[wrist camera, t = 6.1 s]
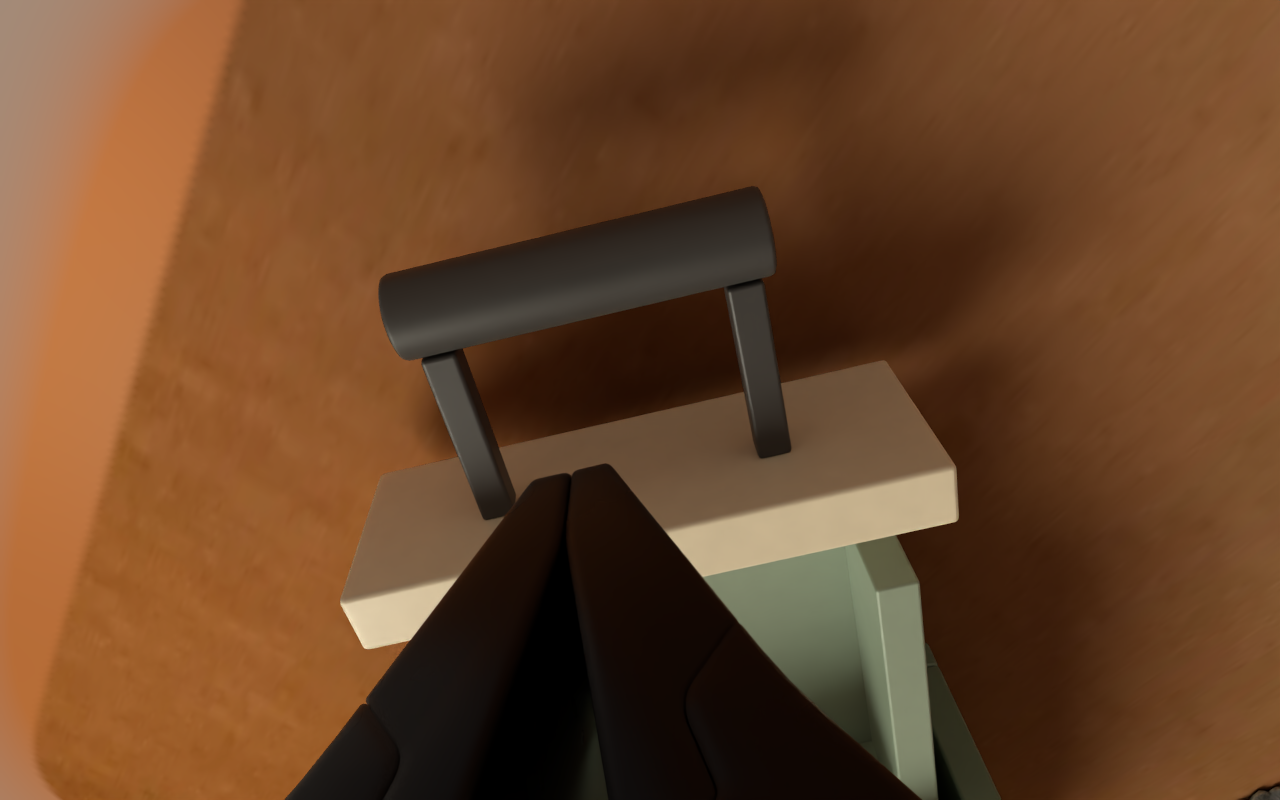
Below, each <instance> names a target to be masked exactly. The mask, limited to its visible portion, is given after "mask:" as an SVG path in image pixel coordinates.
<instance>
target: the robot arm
mask: <svg viewBox="0 0 1280 800" xmlns="http://www.w3.org/2000/svg"><path fill="white" fill-rule="evenodd" d="M366 703H367V704H362V705H360V706H359V708H358V709H357V710H356V712H355V713H354V714H353V716H352V717H351V718H350V719H349V721H348V722H347V723H346V725H345V726H344V727H343V729H342V730H341V731H340V733H339V734H338V735H337V736H336V738H335V739H334V740H333V741H332V743H331V744H330V745H329V746H328V748H327V749H326V750H325V751H324V753H323V754H322V755H321V756H320V758H319V759H318V760H317V761H316V763H315V764H314V765H313V766H312V768H311V769H310V770H309V771H308V773H307V774H306V775H305V776H304V778H303V779H302V780H301V781H300V782H299V784H298V785H297V786H296V787H295V788H294V789H293V790H292V792H291V793H290V794H289V795H288V796H287V797H286V798H285V800H922V799H921V798H920V797H919V796H918V795H916V794H915V793H914V792H913V791H912V790H911V789H910V788H909V787H907V786H906V785H905V784H904V783H903V782H902V781H901V780H899V779H898V778H897V777H896V776H895V775H894V774H893V773H892V772H890V771H889V770H888V769H887V768H886V767H885V766H884V765H883V764H881V763H880V762H879V761H878V760H877V759H876V758H875V757H873V756H872V755H871V754H870V753H869V752H868V751H867V750H866V749H864V748H863V747H862V746H861V745H860V744H859V743H858V742H857V741H855V740H854V739H853V738H852V737H851V736H850V735H849V734H848V733H846V732H845V731H844V730H843V729H842V728H841V727H840V726H838V725H837V724H836V723H835V722H834V721H833V720H832V719H831V718H829V717H828V716H827V715H826V714H825V713H824V712H823V711H822V710H821V709H820V708H819V707H818V706H817V705H816V704H815V703H813V702H812V701H811V700H810V699H809V698H808V697H807V696H806V695H805V694H804V693H803V692H802V691H801V690H800V689H799V688H798V687H797V686H796V685H795V684H794V683H793V682H791V681H790V680H789V679H788V677H787V676H786V675H785V674H784V673H783V672H782V671H781V670H780V668H779V667H778V666H777V665H776V664H775V663H774V662H773V661H772V660H771V658H770V657H769V656H768V655H767V654H766V653H765V652H764V651H763V649H762V648H761V647H760V646H759V645H758V644H757V642H756V641H755V640H754V639H753V637H752V636H751V635H750V634H749V633H748V631H747V630H746V629H745V628H744V626H743V625H741V624H739V622H738V620H737V619H736V617H735V616H734V615H733V614H732V612H731V611H730V610H729V609H728V608H727V606H726V605H725V604H724V603H723V601H722V600H721V599H720V598H719V597H718V595H717V594H716V593H715V592H714V590H713V589H712V588H711V587H710V586H709V584H708V583H707V582H706V581H705V579H704V578H703V577H702V576H701V575H700V573H699V572H698V571H697V570H696V568H695V567H694V566H693V565H692V563H691V562H690V561H689V560H688V559H687V557H686V556H685V555H684V554H683V552H682V551H681V550H680V549H679V548H678V546H677V545H676V544H675V543H674V541H673V540H672V539H671V538H670V537H669V535H668V534H667V533H666V532H665V530H664V529H663V528H662V527H661V526H660V524H659V523H658V522H657V521H656V519H655V518H654V517H653V516H652V515H651V513H650V512H649V511H648V510H647V508H646V507H645V506H644V505H643V504H642V502H641V501H640V500H639V499H638V497H637V496H636V495H635V494H634V492H633V491H632V490H631V489H630V488H629V486H628V485H627V484H626V483H625V481H624V480H623V479H622V478H621V477H620V475H619V474H618V473H617V472H616V470H615V469H614V468H613V467H612V466H611V465H610V464H607V463H605V464H600V465H595V466H591V467H587V468H582V469H578V470H576V471H574V472H573V474H572V476H571V475H570V474H568V473H560V474H556V475H552V476H547V477H543V478H538V479H535V480H533V481H532V482H531V483H530V484H529V485H528V487H527V488H526V489H525V490H524V492H523V493H522V494H521V496H520V497H519V498H518V500H517V501H516V502H515V504H514V505H513V506H512V508H511V509H510V510H509V511H508V513H507V514H506V515H505V517H504V518H503V519H502V521H501V522H500V523H499V525H498V526H497V527H496V529H495V530H494V531H493V532H492V534H491V535H490V536H489V538H488V539H487V540H486V542H485V543H484V544H483V546H482V547H481V548H480V549H479V551H478V552H477V553H476V555H475V556H474V557H473V559H472V560H471V561H470V563H469V564H468V565H467V567H466V568H465V569H464V570H463V572H462V573H461V574H460V576H459V577H458V578H457V580H456V581H455V582H454V584H453V585H452V586H451V588H450V589H449V590H448V591H447V593H446V594H445V595H444V597H443V598H442V599H441V601H440V602H439V603H438V605H437V606H436V607H435V608H434V610H433V611H432V612H431V614H430V615H429V616H428V618H427V619H426V620H425V622H424V623H423V624H422V626H421V627H420V628H419V629H418V631H417V632H416V633H415V635H414V636H413V637H412V639H411V640H410V641H409V643H408V644H407V645H406V647H405V648H404V649H403V650H402V652H401V653H400V654H399V656H398V657H397V658H396V660H395V661H394V662H393V664H392V665H391V666H390V667H389V669H388V670H387V671H386V673H385V674H384V675H383V677H382V678H381V679H380V681H379V682H378V683H377V685H376V686H375V687H374V688H373V690H372V691H371V692H370V694H369V695H368V696H367V698H366Z"/></svg>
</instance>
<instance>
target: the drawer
mask: <svg viewBox="0 0 1280 800" xmlns="http://www.w3.org/2000/svg"><path fill="white" fill-rule="evenodd" d="M776 266H777V260H776V249H775V243H774V237H773V232H772V227H771V222H770V218H769V214H768V210H767V207H766V204H765V201H764V198H763V195H762V193H761V192H760V190H759V189H758V187H755V186H751V187H747V188H743V189H738V190H734V191H730V192H726V193H722V194H718V195H714V196H709V197H705V198H701V199H697V200H693V201H689V202H684V203H680V204H676V205H672V206H668V207H664V208H659V209H655V210H651V211H647V212H643V213H639V214H635V215H630V216H626V217H622V218H618V219H614V220H610V221H605V222H601V223H597V224H593V225H589V226H585V227H580V228H576V229H572V230H568V231H564V232H560V233H555V234H551V235H547V236H543V237H539V238H535V239H531V240H526V241H522V242H518V243H514V244H510V245H506V246H501V247H497V248H493V249H489V250H485V251H481V252H476V253H472V254H468V255H464V256H460V257H456V258H452V259H447V260H443V261H439V262H435V263H431V264H427V265H422V266H418V267H414V268H410V269H406V270H402V271H397V272H393V273H389V274H386V275H385V276H383V277H382V278H381V280H380V283H379V306H380V312H381V316H382V320H383V324H384V327H385V330H386V333H387V335H388V337H389V340H390V342H391V344H392V345H393V347H394V349H395V351H396V352H397V353H398V355H399V356H400V357H401V358H403V359H405V360H409V361H410V360H415V359H419V358H423V359H422V363H421V365H422V367H423V370H424V372H425V375H426V377H427V380H428V382H429V385H430V387H431V390H432V392H433V395H434V397H435V400H436V402H437V405H438V407H439V410H440V412H441V415H442V417H443V420H444V422H445V425H446V427H447V430H448V432H449V435H450V437H451V440H452V442H453V445H454V447H455V450H456V453H457V455H458V457H456V458H451V459H447V460H442V461H438V462H434V463H429V464H425V465H421V466H416V467H412V468H407V469H403V470H399V471H394V472H390V473H385V474H383V475H382V476H381V477H380V480H379V483H378V486H377V489H376V492H375V495H374V498H373V501H372V504H371V507H370V510H369V514H368V517H367V520H366V523H365V526H364V529H363V532H362V535H361V538H360V541H359V544H358V547H357V550H356V553H355V556H354V559H353V562H352V565H351V568H350V571H349V575H348V578H347V581H346V584H345V587H344V590H343V593H342V596H341V599H340V603H341V606H342V608H343V610H344V612H345V614H346V615H347V617H348V619H349V621H350V623H351V625H352V627H353V629H354V630H355V632H356V634H357V636H358V638H359V640H360V642H361V644H362V645H363V647H364V648H365V649H373V648H377V647H382V646H386V645H391V644H396V643H400V642H405V641H409V640H411V639H412V637H413V636H414V635H415V633H416V632H417V631H418V629H419V628H420V627H421V626H422V624H423V623H424V622H425V620H426V619H427V618H428V616H429V615H430V614H431V612H432V611H433V610H434V608H435V607H436V606H437V605H438V603H439V602H440V601H441V599H442V598H443V597H444V595H445V594H446V593H447V591H448V590H449V589H450V588H451V586H452V585H453V584H454V582H455V581H456V580H457V578H458V577H459V576H460V574H461V573H462V572H463V570H464V569H465V568H466V567H467V565H468V564H469V563H470V561H471V560H472V559H473V557H474V556H475V555H476V553H477V552H478V551H479V549H480V548H481V547H482V546H483V544H484V543H485V542H486V540H487V539H488V538H489V536H490V535H491V534H492V532H493V531H494V530H495V529H496V527H497V526H498V525H499V523H500V522H501V521H502V519H503V518H504V517H505V515H506V514H507V513H508V511H509V510H510V509H511V508H512V506H513V505H514V504H515V502H516V501H517V500H518V498H519V497H520V496H521V494H522V493H523V492H524V490H525V489H526V488H527V487H528V485H529V484H530V483H531V482H532V481H533V480H535V479H538V478H543V477H547V476H552V475H556V474H560V473H568V474H570V475H571V476H572V474H573V472H574V471H576V470H578V469H582V468H587V467H591V466H595V465H600V464H605V463H607V464H610V465H611V466H612V467H613V468H614V469H615V470H616V472H617V473H618V474H619V475H620V477H621V478H622V479H623V480H624V481H625V483H626V484H627V485H628V486H629V488H630V489H631V490H632V491H633V492H634V494H635V495H636V496H637V497H638V499H639V500H640V501H641V502H642V504H643V505H644V506H645V507H646V508H647V510H648V511H649V512H650V513H651V515H652V516H653V517H654V518H655V519H656V521H657V522H658V523H659V524H660V526H661V527H662V528H663V529H664V530H665V532H666V533H667V534H668V535H669V537H670V538H671V539H672V540H673V541H674V543H675V544H676V545H677V546H678V548H679V549H680V550H681V551H682V552H683V554H684V555H685V556H686V557H687V559H688V560H689V561H690V562H691V563H692V565H693V566H694V567H695V568H696V570H697V571H698V572H699V573H700V575H701V576H702V577H703V578H704V579H705V581H706V582H707V583H708V584H709V586H710V587H711V588H712V589H713V590H714V592H715V593H716V594H717V595H718V597H719V598H720V599H721V600H722V601H723V603H724V604H725V605H726V606H727V608H728V609H729V610H730V611H731V612H732V614H733V615H734V616H735V617H736V619H737V620H738V622H739V624H741V625H743V626H744V628H745V629H746V630H747V631H748V633H749V634H750V635H751V636H752V637H753V639H754V640H755V641H756V642H757V644H758V645H759V646H760V647H761V648H762V649H763V651H764V652H765V653H766V654H767V655H768V656H769V657H770V658H771V660H772V661H773V662H774V663H775V664H776V665H777V666H778V667H779V668H780V670H781V671H782V672H783V673H784V674H785V675H786V676H787V677H788V679H789V680H790V681H791V682H793V683H794V684H795V685H796V686H797V687H798V688H799V689H800V690H801V691H802V692H803V693H804V694H805V695H806V696H807V697H808V698H809V699H810V700H811V701H812V702H813V703H815V704H816V705H817V706H818V707H819V708H820V709H821V710H822V711H823V712H824V713H825V714H826V715H827V716H828V717H829V718H831V719H832V720H833V721H834V722H835V723H836V724H837V725H838V726H840V727H841V728H842V729H843V730H844V731H845V732H846V733H848V734H849V735H850V736H851V737H852V738H853V739H854V740H855V741H857V742H858V743H859V744H860V745H861V746H862V747H863V748H864V749H866V750H867V751H868V752H869V753H870V754H871V755H872V756H873V757H875V758H876V759H877V760H878V761H879V762H880V763H881V764H883V765H884V766H885V767H886V768H887V769H888V770H889V771H890V772H892V773H893V774H894V775H895V776H896V777H897V778H898V779H899V780H901V781H902V782H903V783H904V784H905V785H906V786H907V787H909V788H910V789H911V790H912V791H913V792H914V793H915V794H916V795H918V796H919V797H920V798H921V799H922V800H938V791H937V779H936V768H935V756H934V744H933V733H932V721H931V709H930V698H929V686H928V674H927V663H926V651H925V640H924V628H923V616H922V605H921V593H920V582H919V580H918V578H917V576H916V574H915V572H914V570H913V568H912V566H911V564H910V562H909V560H908V558H907V556H906V554H905V552H904V550H903V548H902V546H901V544H900V542H899V540H898V538H897V536H896V535H898V534H903V533H907V532H912V531H917V530H921V529H926V528H930V527H935V526H940V525H944V524H949V523H954V522H956V521H958V519H959V508H958V489H957V471H956V466H955V464H954V463H953V461H952V460H951V458H950V457H949V455H948V454H947V452H946V451H945V449H944V448H943V446H942V445H941V443H940V442H939V440H938V439H937V437H936V436H935V434H934V433H933V431H932V430H931V428H930V427H929V425H928V424H927V422H926V421H925V419H924V418H923V416H922V415H921V413H920V412H919V410H918V409H917V407H916V406H915V404H914V403H913V401H912V400H911V398H910V397H909V395H908V394H907V392H906V391H905V389H904V388H903V386H902V384H901V383H900V381H899V380H898V378H897V377H896V375H895V374H894V372H893V371H892V369H891V368H890V366H889V365H888V363H887V362H886V361H882V360H881V361H877V362H873V363H868V364H864V365H859V366H855V367H851V368H846V369H842V370H838V371H833V372H829V373H824V374H820V375H816V376H811V377H807V378H802V379H798V380H794V381H789V382H785V383H781V381H780V375H779V369H778V363H777V357H776V351H775V345H774V339H773V333H772V326H771V320H770V314H769V308H768V302H767V296H766V290H765V284H764V282H763V280H762V278H764V277H769V276H772V275H773V274H775V272H776ZM722 287H724V291H725V296H726V301H727V307H728V312H729V317H730V322H731V328H732V333H733V338H734V343H735V348H736V354H737V359H738V364H739V369H740V375H741V380H742V385H743V390H744V392H741V393H737V394H732V395H728V396H723V397H719V398H715V399H710V400H706V401H701V402H697V403H693V404H688V405H684V406H680V407H675V408H671V409H666V410H662V411H658V412H653V413H649V414H644V415H640V416H636V417H631V418H627V419H622V420H618V421H614V422H609V423H605V424H601V425H596V426H592V427H587V428H583V429H579V430H574V431H570V432H565V433H561V434H557V435H552V436H548V437H543V438H539V439H535V440H530V441H526V442H521V443H517V444H513V445H508V446H504V447H500V448H499V447H498V444H497V441H496V439H495V436H494V433H493V430H492V428H491V425H490V422H489V420H488V417H487V414H486V411H485V409H484V406H483V403H482V400H481V398H480V395H479V392H478V390H477V387H476V384H475V381H474V379H473V376H472V373H471V371H470V368H469V365H468V362H467V360H466V357H465V354H464V351H463V349H462V348H466V347H470V346H475V345H479V344H483V343H487V342H492V341H496V340H500V339H504V338H509V337H513V336H517V335H521V334H526V333H530V332H534V331H538V330H543V329H547V328H551V327H556V326H560V325H564V324H568V323H573V322H577V321H581V320H585V319H590V318H594V317H598V316H602V315H607V314H611V313H615V312H619V311H624V310H628V309H632V308H637V307H641V306H645V305H649V304H654V303H658V302H662V301H666V300H671V299H675V298H679V297H683V296H688V295H692V294H696V293H700V292H705V291H709V290H713V289H717V288H722Z"/></svg>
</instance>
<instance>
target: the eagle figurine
mask: <svg viewBox="0 0 1280 800" xmlns="http://www.w3.org/2000/svg"><path fill="white" fill-rule="evenodd" d="M1250 800H1280V787H1274V788H1273V789H1271V790H1270V791H1269V792H1266V791H1258V792H1256V793H1255V794H1253V796H1252V797H1251V798H1250Z"/></svg>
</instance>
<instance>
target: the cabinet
mask: <svg viewBox="0 0 1280 800" xmlns="http://www.w3.org/2000/svg"><path fill="white" fill-rule="evenodd" d="M925 651H926V663H927V674H928V686H929V698H930V709H931V721H932V733H933V744H934V756H935V768H936V779H937V791H938V800H1001V797H1000V795H999V793H998V791H997V789H996V787H995V785H994V783H993V780H992V778H991V776H990V774H989V772H988V770H987V768H986V766H985V763H984V761H983V759H982V757H981V755H980V753H979V751H978V749H977V746H976V744H975V742H974V740H973V738H972V736H971V734H970V732H969V730H968V727H967V725H966V723H965V721H964V719H963V717H962V715H961V713H960V710H959V708H958V706H957V704H956V702H955V700H954V698H953V696H952V693H951V691H950V689H949V687H948V685H947V683H946V681H945V679H944V677H943V674H942V672H941V670H940V668H939V667H938V666H937V662H936V660H935V658H934V655H933V653H932V651H931V649H930V647H929V645H928V644H927V643H925Z"/></svg>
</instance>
